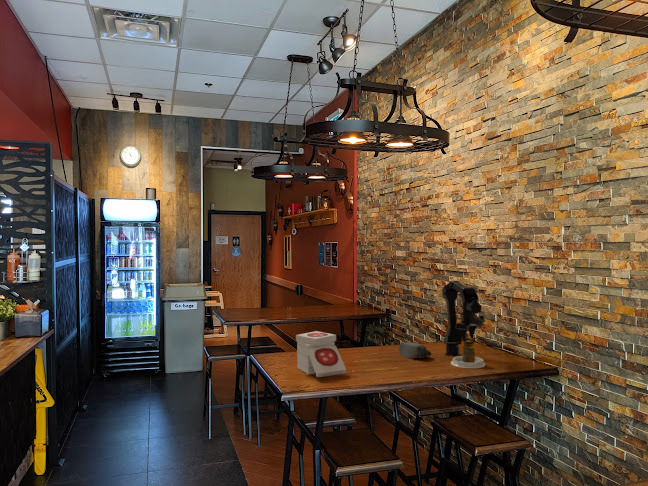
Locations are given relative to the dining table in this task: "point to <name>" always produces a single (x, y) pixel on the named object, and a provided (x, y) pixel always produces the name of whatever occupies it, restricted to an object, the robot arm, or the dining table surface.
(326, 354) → the pizza box stack
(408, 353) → the grey rounded jug
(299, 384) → the dining table surface
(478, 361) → the collar plate
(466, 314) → the robot arm
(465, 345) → the condiment
